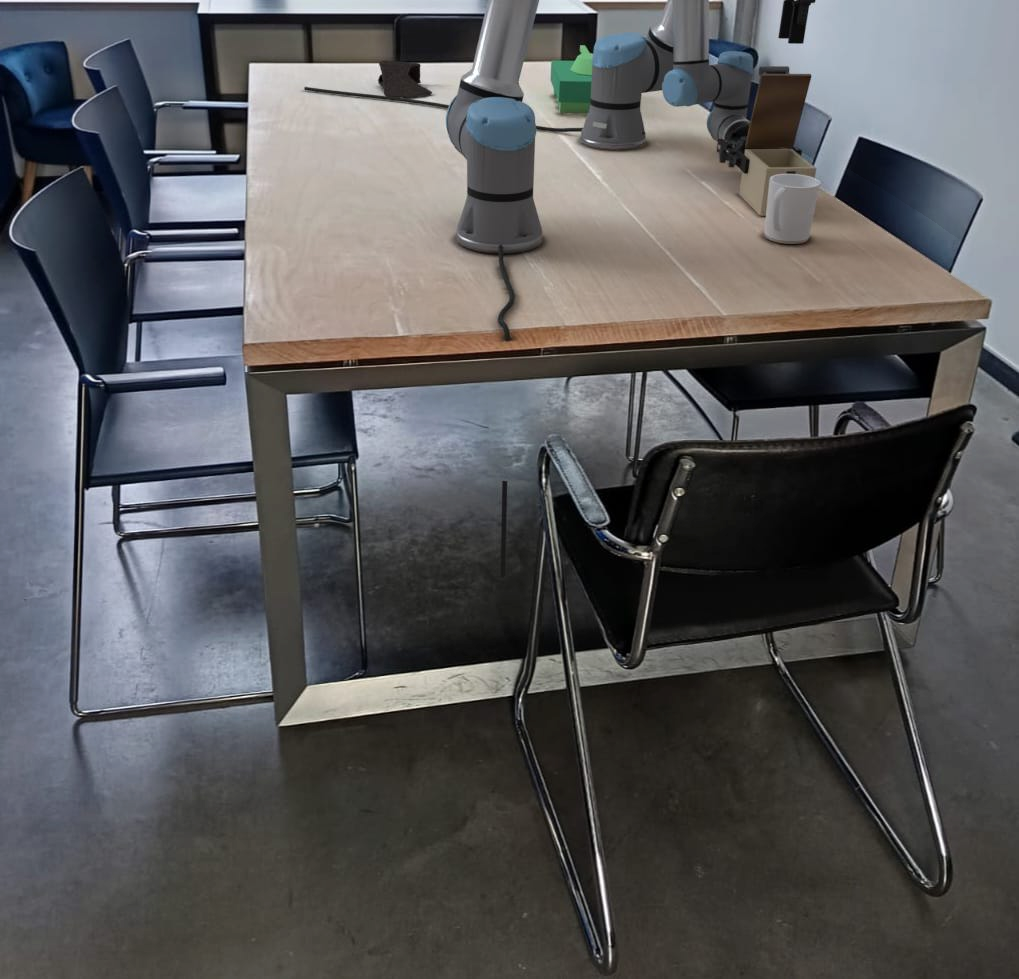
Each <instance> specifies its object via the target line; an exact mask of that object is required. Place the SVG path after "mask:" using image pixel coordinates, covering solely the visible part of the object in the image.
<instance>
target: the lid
mask: <svg viewBox="0 0 1019 979" xmlns="http://www.w3.org/2000/svg"><path fill="white" fill-rule="evenodd" d="M758 75H759V76H760V77H759V81H758V86H757V90H756V95H755V99H754V104H753V108H752V112H751V117H750V120H749V121H750V126H749V130H748V134H747V139H746V143H745V147H746V148H793V146H794V147H795V142H796V138H797V133H798V131H799V130H798V129H799V126H800V122H801V118H802V114H803V111H804V107H805V104H806V99H807V95H808V92H809V88H810V84H811V81H812V74H811V73H790V66H788V65H787V66H785V65H783V66H781V65H777V66H775V65H773V66H771V65H767V66H766V65H763V66H761V65H760V66H759V69H758Z"/></svg>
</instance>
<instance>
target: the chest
mask: <svg viewBox="0 0 1019 979" xmlns="http://www.w3.org/2000/svg"><path fill="white" fill-rule="evenodd" d="M744 155H745V156H746V157H747V158H748V159H749V160H750V162H749V169H748V174H744V173H743V172H742V171H741V177H740V185H739V186H740V187H739V194H738V195H739V196H740V197H741V198H742V199H743V200H744V201H745V202H746V203H747V204H748V205H749V206H750V207H751V209H753V210H754V212H756V214H758V216H760V217H766V210H767V199H768V189H769V180H770V177H772V176H774V175H778V174H799V175H806V176H810V177H813V178H816V172H817V167H816V166H815V165H813V164H812V163H810V162H809V161H808V160H807V159H806V158H804V157H803V156H802V155H801V156H800V155H799V154H798V153H797V152H795V151H794V150H793V149H745V154H744Z"/></svg>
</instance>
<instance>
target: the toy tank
mask: <svg viewBox="0 0 1019 979" xmlns="http://www.w3.org/2000/svg"><path fill="white" fill-rule="evenodd" d="M579 52H580V54H578V55H577V56H576V59H575V60H555V59H554V60H551V61H550V83H551V86H552V88H553V96H554V97H556V100H557V102H558V113H559V114H575V115H576V114H577V115H578V114H579V115H580V114H581V115H583V114H585V115H586V114H587V115H588V112H589V109H590V100H591V83H592V57H593V53H591V52H590V51H589V50H588V47H587V46H586V45H583V44H582V45H581V44H580V45H579Z"/></svg>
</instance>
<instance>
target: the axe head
mask: <svg viewBox="0 0 1019 979" xmlns="http://www.w3.org/2000/svg"><path fill="white" fill-rule="evenodd" d="M378 66H379V68H380V72H381V74H379V75H378V79H377V84H378V85H379V86H380V87H381V88H382V89H383V96H389V97H397V98H405V99H412V98H418V97H425V96H429V95H432V94H433V91H431V90H430V89H428V88H427V87H425V86H422V85H421V84H422V82H421V63H419V62H410V61H408V62H407V61H397V60H388V59H387V60H380V61H379V62H378Z"/></svg>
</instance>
